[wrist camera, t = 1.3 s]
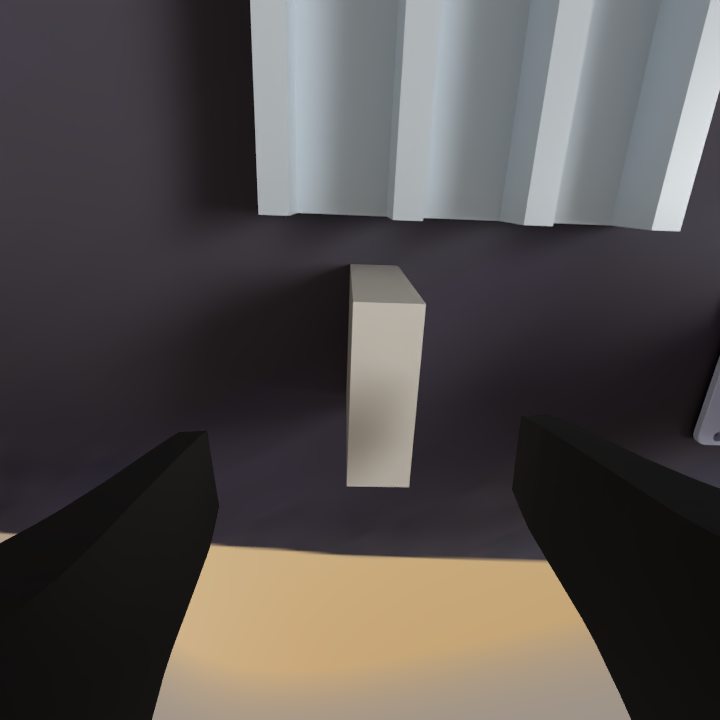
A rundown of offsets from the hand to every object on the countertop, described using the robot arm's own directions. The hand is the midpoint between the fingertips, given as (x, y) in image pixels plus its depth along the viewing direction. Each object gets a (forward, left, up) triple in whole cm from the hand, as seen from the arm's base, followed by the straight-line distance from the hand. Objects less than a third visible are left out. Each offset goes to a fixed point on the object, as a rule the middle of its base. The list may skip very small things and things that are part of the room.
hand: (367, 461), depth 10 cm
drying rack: (-4, -10, -10) cm, 15 cm away
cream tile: (-1, 0, -10) cm, 10 cm away
